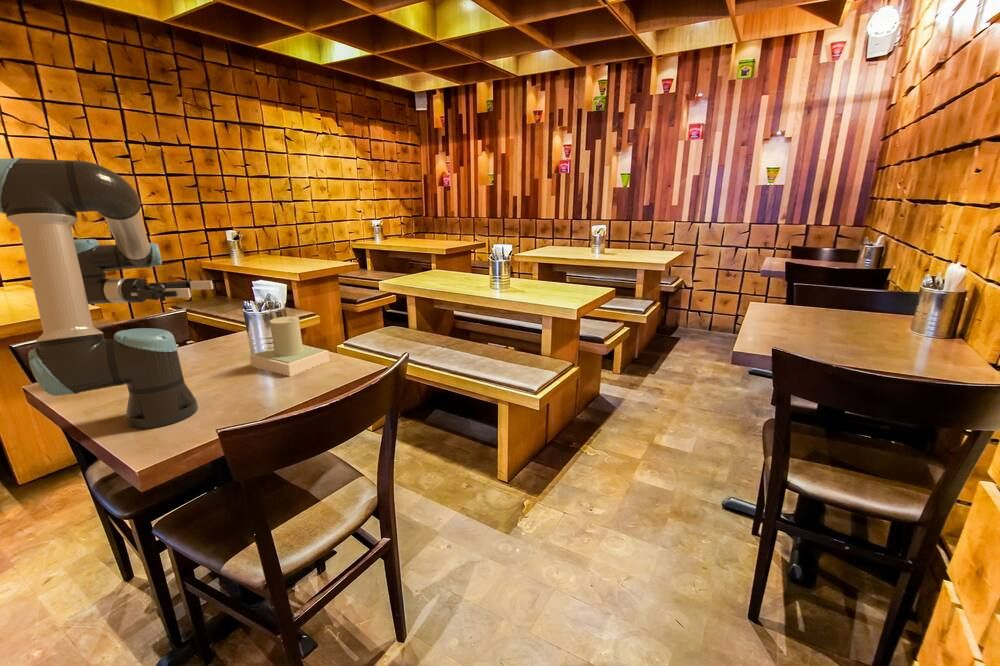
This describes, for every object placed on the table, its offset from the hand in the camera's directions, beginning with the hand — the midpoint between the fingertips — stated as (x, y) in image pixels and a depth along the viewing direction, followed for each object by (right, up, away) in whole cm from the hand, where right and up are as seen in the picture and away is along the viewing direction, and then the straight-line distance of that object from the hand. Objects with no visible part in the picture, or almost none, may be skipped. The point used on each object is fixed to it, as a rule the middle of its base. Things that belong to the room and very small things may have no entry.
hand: (201, 288), depth 141 cm
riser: (+21, -25, +15) cm, 36 cm away
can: (+21, -21, +14) cm, 33 cm away
